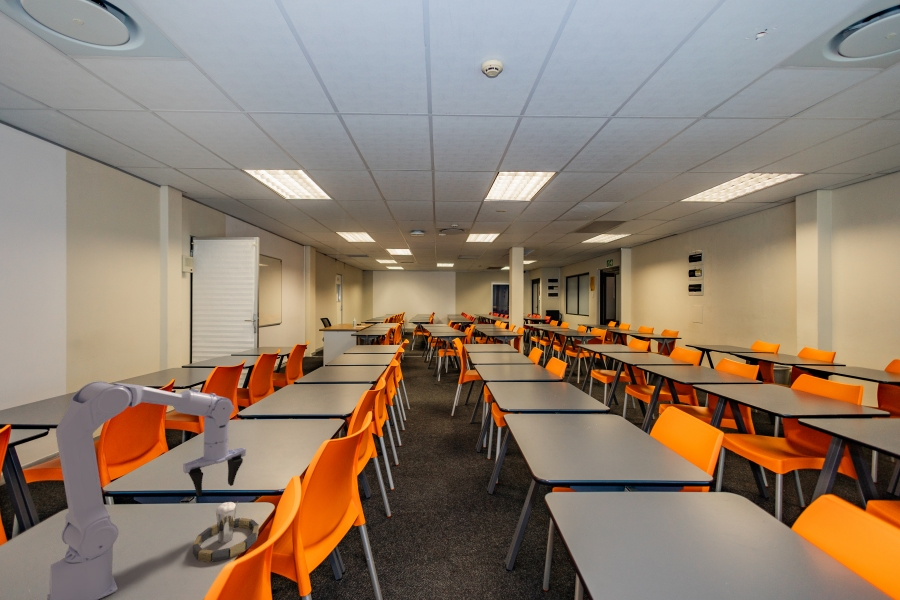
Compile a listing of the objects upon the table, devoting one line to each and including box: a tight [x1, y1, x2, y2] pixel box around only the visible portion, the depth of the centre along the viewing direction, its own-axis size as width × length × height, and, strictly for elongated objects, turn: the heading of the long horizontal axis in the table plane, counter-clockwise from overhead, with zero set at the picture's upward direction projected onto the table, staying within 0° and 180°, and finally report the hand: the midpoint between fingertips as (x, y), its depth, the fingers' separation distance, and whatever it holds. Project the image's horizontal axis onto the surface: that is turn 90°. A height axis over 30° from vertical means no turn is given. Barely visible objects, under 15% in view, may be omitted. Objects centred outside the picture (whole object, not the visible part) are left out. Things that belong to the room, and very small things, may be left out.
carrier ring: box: [192, 517, 260, 563], centre depth 93 cm, size 14×14×2 cm
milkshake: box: [215, 501, 239, 544], centre depth 94 cm, size 5×5×10 cm
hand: (215, 489), depth 99 cm, fingers open, 7 cm apart
